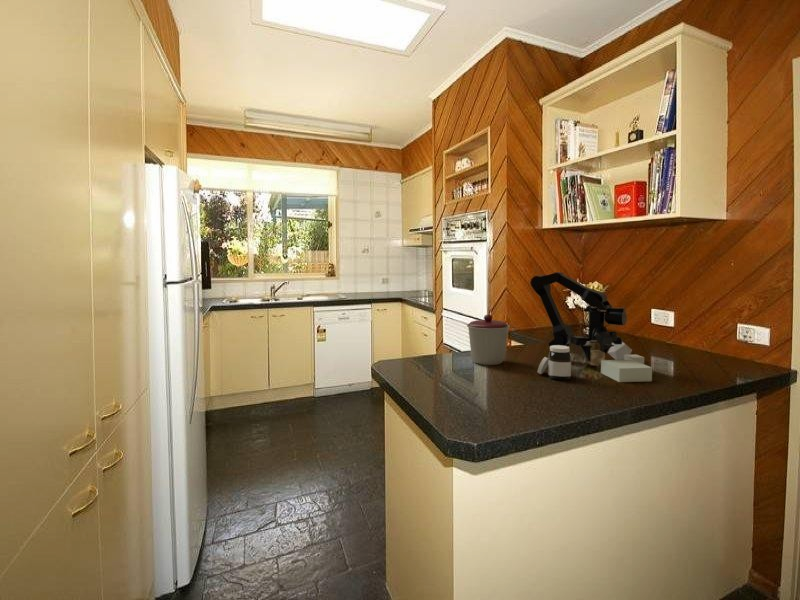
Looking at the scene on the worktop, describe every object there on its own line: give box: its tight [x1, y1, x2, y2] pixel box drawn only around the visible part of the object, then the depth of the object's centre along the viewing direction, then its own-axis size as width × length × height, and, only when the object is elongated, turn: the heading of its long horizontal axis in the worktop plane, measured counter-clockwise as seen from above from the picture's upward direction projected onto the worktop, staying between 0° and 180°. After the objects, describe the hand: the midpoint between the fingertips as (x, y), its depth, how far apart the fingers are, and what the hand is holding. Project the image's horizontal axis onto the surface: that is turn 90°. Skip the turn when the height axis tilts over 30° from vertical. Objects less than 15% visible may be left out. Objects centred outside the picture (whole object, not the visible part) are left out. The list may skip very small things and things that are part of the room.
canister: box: [466, 314, 511, 366], centre depth 171 cm, size 18×18×21 cm
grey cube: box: [624, 354, 645, 365], centre depth 160 cm, size 5×5×5 cm
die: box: [607, 341, 633, 360], centre depth 173 cm, size 8×9×10 cm
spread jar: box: [537, 345, 572, 381], centre depth 149 cm, size 12×11×12 cm
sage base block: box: [600, 359, 653, 383], centre depth 148 cm, size 12×12×5 cm
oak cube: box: [585, 349, 606, 366], centre depth 161 cm, size 5×5×5 cm
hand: (595, 361), depth 161 cm, fingers closed on oak cube, 5 cm apart
